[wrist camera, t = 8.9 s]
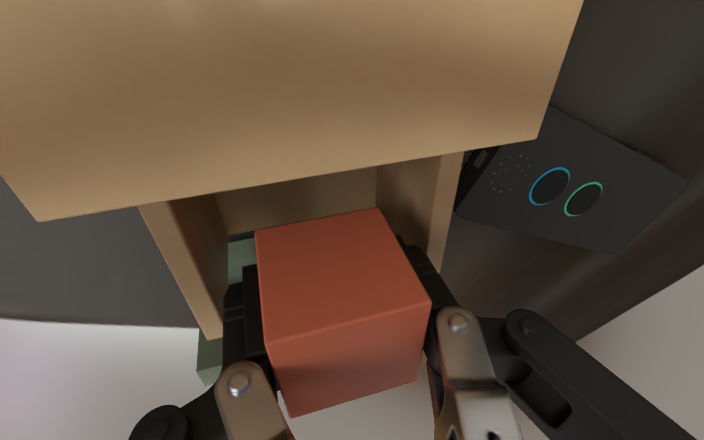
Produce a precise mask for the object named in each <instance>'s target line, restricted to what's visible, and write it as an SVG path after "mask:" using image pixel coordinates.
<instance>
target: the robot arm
mask: <svg viewBox="0 0 704 440" xmlns="http://www.w3.org/2000/svg"><path fill="white" fill-rule="evenodd" d="M395 237H396V239H397V241H398V242H399V244H400V246H401V248H402V250H403V251H404V253H405V255H406V257H407V258H408V260H409V262H410V264H411V265H412V267H413V269H414V271H415V272H416V274H417V276H418V278H419V279H420V281H421V283H422V285H423V287H424V288H425V290H426V292H427V294H428V295H429V297H430V299H431V301H432V306H431V311H430V316H429V321H428V326H427V331H426V336H425V341H424V346H423V350H424V352H425V354H426V357H427V363H426V365H427V373H428V379H429V387H430V394H431V400H432V407H433V414H434V423H435V429H434V439H435V440H524V438H523V435H522V432H521V428H520V425H519V422H518V419H517V416H516V413H515V410H514V406H513V403H512V401H513V402H514V403H515V404H516V405H517V406H518V407H519V408H520V409H521V410H522V411H523V412H524V413H525V414H526V415H527V416H528V418H529V419H530V420H532V422H533V423H534V424H535V425H536V426H537V427H538V428H539V429H540V430H541V431H542V432H543V433H544V434H545V435H546V436H547V437H548V438H549V439H550V440H696V439H695V438H694V437H693V436H692V435H690V434H689V433H688V432H687V431H685V430H684V429H683V428H681V427H680V426H679V425H678V424H677V423H675V422H674V421H673V420H671V419H670V418H669V417H667V416H666V415H665V414H664V413H663V412H661V411H660V410H658V409H657V408H656V407H655V406H654V405H653V404H651V403H650V402H649V401H647V400H646V399H645V398H644V397H642V396H641V395H640V394H639V393H637V392H636V391H635V390H634V389H632V388H631V387H630V386H629V385H627V384H626V383H625V382H623V381H622V380H621V379H620V378H618V377H617V376H616V375H615V374H613V373H612V372H611V371H609V370H608V369H607V368H606V367H604V366H603V365H602V364H601V363H600V362H598V361H597V360H596V359H594V358H593V357H592V356H591V355H589V354H588V353H587V352H585V351H584V350H583V349H582V348H581V347H579V346H578V345H577V344H576V343H574V342H573V341H572V340H571V339H569V338H568V337H567V336H565V335H564V334H563V333H562V332H560V331H559V330H558V329H557V328H555V327H554V326H553V325H552V324H550V323H549V322H548V321H547V320H545V319H544V318H543V317H541V316H540V315H539V314H537V313H535V312H533V311H530V310H525V309H516V310H513V311H511V312H510V313H508V315H507V316H506V319H500V318H483V317H478V316H475V315H474V314H473V313H472V312H470V311H469V310H467V309H465V308H462V307H460V306H459V304H458V303H457V302H456V300H455V298H454V297H453V295H452V294H451V292H450V291H449V289H448V287H447V286H446V284H445V283H444V281H443V280H442V278H441V276H440V275H439V273H437V270H436V269H435V267H434V265H433V264H432V262H431V261H430V259H429V258H428V256H427V254H426V253H425V252H424V251H423V250H421V249H420V248H419V247H417V246H416V245H415V244H413V245H409V246H406V244H405V242H404V241H403V239H402V237H401V236H400V235H399V234H396V235H395ZM242 281H243V282H238V283H234V284H230V285H229V287H228V289H227V291H226V293H225V295H224V297H223V312H224V313H223V359H222V369H221V373H220V375H219V377H218V379H217V380H216V382H215V383H214V385H213V386H212V387H211V388H210V389H209V390H208V391H207V392H205V393H204V394H202V395H201V396H199V397H198V398H196V399H194V400H193V401H191V402H190V403H188V404H186V405H185V406H183V407H181V408H179V407H177V406H174V405H164V406H160V407H158V408H155V409H154V410H152V411H150V412H149V413H147V414H146V415H145V416H144V417H143V418H142V419H141V420H140V421H139V422H138V423H137V424H136V426H135V427H134V429H133V431H132V433H131V435H130V437H129V440H295V438H294V436H293V434H292V433H291V431H290V429H289V427H288V425H287V423H286V420H285V418H284V416H283V414H282V412H281V409H280V407H279V405H278V397H277V391H279V390H280V389H279V386H278V383H277V380H276V377H275V374H274V371H273V368H272V365H271V362H270V359H269V356H268V354H267V351H266V348H265V345H264V335H263V324H262V313H261V302H260V290H259V279H258V268H257V264H252V265H247V266H243V267H242Z"/></svg>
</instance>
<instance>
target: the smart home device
mask: <svg viewBox="0 0 704 440" xmlns="http://www.w3.org/2000/svg"><path fill="white" fill-rule="evenodd" d="M669 169H670V168H669V167H667V166H665V165H664V164H662V163H660V162H658V161H656V160H654V159H653V158H651V157H649V156H647V155H645V154H643V153H642V152H640V151H638V150H636V149H634V148H632V147H630V149H629V148H628V147H626V146H624V145H622V144H620V143H618V142H617V141H615V140H613V139H611V138H609V137H607V136H606V135H604V134H602V133H600V132H598V131H596V130H594V129H593V128H591V127H589V126H587V125H585V124H583V123H582V122H580V121H578V120H576V119H574V118H572V117H570V116H569V115H567V114H565V113H563V112H561V111H559V110H558V109H556V108H554V107H552V106H550V105H548V106H547V109H546V112H545V115H544V118H543V121H542V124H541V127H540V130H539V133H538V135H537V138H536V139H534V140H528V141H522V142H516V143H510V144H504V145H498V146H492V147H486V148H480V149H476V151H475V152H474V154H473V155H472V157H471V158H470V160H469V161H468V163H467V164H466V166H465V167H464V169H463V170H462V172H461V173H460V176H459V181H458V186H457V191H456V196H455V200H454V205H453V210H454V211H455V212H456V214H457V215H458V216H460V217H461V218H464V219H467V220H471V221H475V222H479V223H483V224H487V225H491V226H495V227H499V228H503V229H508V230H512V231H516V232H520V233H524V234H528V235H532V236H536V237H540V238H544V239H548V240H552V241H556V242H560V243H564V244H568V245H572V246H576V247H580V248H584V249H588V250H592V251H596V252H600V253H605V254H609V255H613V254H616V253H618V252H620V251H621V250H622V249H623V248H624V247H625V246H626V245H627V244H628V243H629V242H631V241H632V240H633V239H634V238H635V237H636V236H637V235H638V234H639V233H640V232H641V231H642V230H643V229H644V228H645V227H647V226H648V225H649V224H650V223H651V222H652V221H653V220H654V219H655V218H656V217H657V216H658V215H659V214H660V213H661V212H663V211H664V210H665V209H666V208H667V207H668V206H669V205H670V204H671V203H672V202H673V201H674V200H675V199H676V198H678V197H679V196H680V195H681V194H682V193H683V192H684V191H685V190H686V189H687V188H688V186H689V181H688V180H687V179H685V178H683V177H681V176H679V175H677V174H676V173H674V172H672V171H670V170H669Z"/></svg>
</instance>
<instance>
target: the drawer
mask: <svg viewBox="0 0 704 440" xmlns="http://www.w3.org/2000/svg"><path fill="white" fill-rule="evenodd" d="M464 152H465V151H462V152H456V153H450V154H444V155H438V156H432V157H426V158H420V159H414V160H408V161H402V162H396V163H390V164H384V165H378V166H373V167H367V168H361V169H355V170H349V171H343V172H337V173H331V174H325V175H319V176H313V177H307V178H301V179H295V180H289V181H283V182H277V183H271V184H265V185H259V186H253V187H247V188H241V189H235V190H229V191H223V192H217V193H211V194H205V195H199V196H193V197H187V198H181V199H175V200H169V201H163V202H157V203H152V204H146V205H140V206H137V208H138V209H139V211H140V213H141V215H142V217H143V219H144V221H145V223H146V225H147V227H148V228H149V230H150V232H151V234H152V236H153V238H154V240H155V242H156V244H157V246H158V247H159V249H160V251H161V253H162V255H163V257H164V259H165V261H166V263H167V265H168V266H169V268H170V270H171V272H172V274H173V276H174V278H175V280H176V282H177V284H178V285H179V287H180V289H181V291H182V293H183V295H184V297H185V299H186V301H187V303H188V304H189V306H190V308H191V310H192V312H193V314H194V316H195V318H196V320H197V322H198V323H199V325H200V328H199V342H198V356H197V370H196V372H197V374H198V375H199V377H200V379H201V380H202V382H203V383H204V385H205V386H207V385H211V384H214V383H215V382H216V380H217V379H218V377H219V375H220V373H221V369H222V359H223V313H224V312H223V297H224V295H225V293H226V291H227V289H228V287H229V285H230V284H234V283H238V282H243V281H242V267H243V266H247V265H252V264H257V257H256V245H255V238H250V239H245V240H240V241H235V242H230V243H228V235H232V234H237V233H242V232H248V231H253V230H258V229H263V228H268V227H274V226H279V225H284V224H289V223H294V222H300V221H305V220H310V219H315V218H321V217H326V216H331V215H336V214H341V213H347V212H352V211H357V210H362V209H367V208H373V207H378V208H379V209H380V211H381V212H382V214H383V216H384V218H385V220H386V221H387V223H388V225H389V227H390V228H391V230H392V232H393V234H394V235H396V234H399V235H400V236H401V237H402V239H403V241H404V242H405V244H406V246H409V245H413V244H415V245H416V246H417V247H419V248H420V249H421V250H423V251H424V252H425V253H426V254H427V256H428V258H429V259H430V261H431V262H432V264H433V265H434V267H435V269H436V270H437V273H439V274H440V269H441V264H442V259H443V254H444V249H445V244H446V239H447V235H448V230H449V225H450V220H451V215H452V210H453V205H454V200H455V196H456V191H457V186H458V181H459V176H460V171H461V166H462V161H463V156H464Z"/></svg>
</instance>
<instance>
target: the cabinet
mask: <svg viewBox="0 0 704 440" xmlns="http://www.w3.org/2000/svg"><path fill="white" fill-rule="evenodd" d="M583 1H584V0H0V175H1V176H2V177H3V179H4V180H5V181H6V182H7V184H8V185H9V186H10V188H11V189H12V190H13V191H14V193H15V194H16V195H17V197H18V198H19V199H20V200H21V202H22V203H23V204H24V205H25V207H26V208H27V209H28V211H29V212H30V213H31V214H32V216H33V217H34V218H35V219H36V221H38V222H44V221H50V220H56V219H62V218H68V217H74V216H80V215H86V214H92V213H98V212H104V211H110V210H116V209H122V208H128V207H134V206H140V205H146V204H152V203H157V202H163V201H169V200H175V199H181V198H187V197H193V196H199V195H205V194H211V193H217V192H223V191H229V190H235V189H241V188H247V187H253V186H259V185H265V184H271V183H277V182H283V181H289V180H295V179H301V178H307V177H313V176H319V175H325V174H331V173H337V172H343V171H349V170H355V169H361V168H367V167H373V166H378V165H384V164H390V163H396V162H402V161H408V160H414V159H420V158H426V157H432V156H438V155H444V154H450V153H456V152H462V151H468V150H474V149H480V148H486V147H492V146H498V145H504V144H510V143H516V142H522V141H528V140H534V139H536V138H537V135H538V133H539V130H540V127H541V124H542V121H543V118H544V115H545V112H546V109H547V106H548V103H549V101H550V98H551V95H552V92H553V89H554V86H555V83H556V80H557V77H558V74H559V71H560V68H561V66H562V63H563V60H564V57H565V54H566V51H567V48H568V45H569V42H570V39H571V36H572V33H573V31H574V28H575V25H576V22H577V19H578V16H579V13H580V10H581V7H582V4H583Z"/></svg>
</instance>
